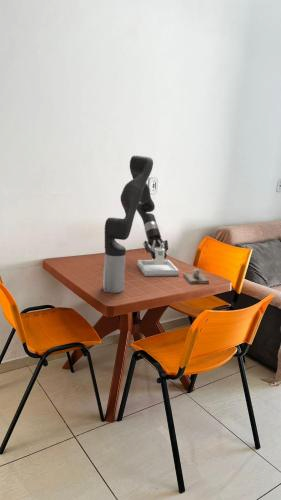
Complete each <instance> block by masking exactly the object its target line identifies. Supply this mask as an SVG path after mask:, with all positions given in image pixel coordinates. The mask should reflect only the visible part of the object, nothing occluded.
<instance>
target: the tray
mask: <svg viewBox="0 0 281 500" xmlns="http://www.w3.org/2000/svg"><path fill="white" fill-rule="evenodd" d="M137 267H138V269H139V270H140V271H141V272H142V274H143V275H144V277H169V276H170V277H174V276H179V275H180V274H179V273H180V270H179V268H177V267H176V265H174V264H173V263H172V261H171V260H169V259H164V264H154V263H153V262H152V259H138V260H137Z"/></svg>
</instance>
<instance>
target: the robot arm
mask: <svg viewBox="0 0 281 500" xmlns="http://www.w3.org/2000/svg"><path fill="white" fill-rule="evenodd" d="M153 166H154V161H153V158H152V157H150V156H145V155H137V154H136V155H132V156H131V158H130V160H129V171H130V175H131V176H132V179H131V180H130V181H129V182H127V183H126V184H125V185H124V187H123V189H122V192H121V195H120V203H121V206H122V208H123V210H124V214H125V216H124V217H123V218H120V217H119V218H118V217H108V218H107V219H105V223H104V265H103V266H104V267H103V270H102V271H103V273H102V289H103V291H104V293H112V294H116V293H117V294H118V293H121V292H123V291H124V290H125V272H126V271H125V270H126V269H125V267H126V253H127V251H126V247H125V246H123V245H122V244H120V243H118V242H117V241H116V240H119V241H121V240H122V241H125V240H127V239H128V238H129V236H130V233H131V230H132V227H133V223H134V219H135V216H136V212H137V213H138V215H139V216H140V217H141V220H142V224H143V229H144V232H145V235H146V239H147V241H146V240H144V242H143V243H142V245H143V247H144V249H145V251H146V253H149V254H150V257H151V258H152V259H155V258H156V257H155V253H154V252H153V251H154V247H161V248H163V249H164V250H165V255H164V260H166V258H167V257H168V255H167V251H168V250H169V244H168V243H169V242H168V239H165V240H163V239H162V236H161V233H160V228H159V225H158V223H157V220H156V216H155V215H154V213H151V212H154V211H155V209H156V206H155V202H154V201H153V198H152V197H151V189H150V187H149V186H150V185H149V184H148V183H147V182H148V179H149V177H150V175H151V173H152V171H153Z"/></svg>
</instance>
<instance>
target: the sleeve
mask: <svg viewBox="0 0 281 500" xmlns="http://www.w3.org/2000/svg"><path fill="white" fill-rule="evenodd" d="M153 252H154V253H155V257H156V258H155V259H153V258H152V259H151V260H152V262H153V263H154V264H164V260H165V259H164V255H165V250H164V249H163V248H161V246H160V247H154V251H153Z"/></svg>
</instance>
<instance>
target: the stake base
mask: <svg viewBox="0 0 281 500" xmlns="http://www.w3.org/2000/svg"><path fill="white" fill-rule="evenodd" d="M182 277H183V278H184V279H185V281H187V282H188V283H189V284H196V285H197V284H209V283H210V280H209V279H208V278H207V277H206V276H205V275H204V274H202V273H200V268H199V269H198V268H194V269H193V273H183V275H182Z"/></svg>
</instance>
